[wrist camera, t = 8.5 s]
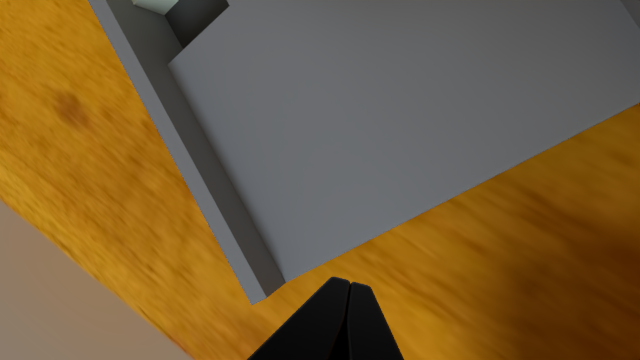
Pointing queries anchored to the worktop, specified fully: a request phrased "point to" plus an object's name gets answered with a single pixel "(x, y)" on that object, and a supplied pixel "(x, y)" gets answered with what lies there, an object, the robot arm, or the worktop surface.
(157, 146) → the worktop surface
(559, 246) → the worktop surface
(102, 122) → the worktop surface
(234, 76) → the gray open tray
